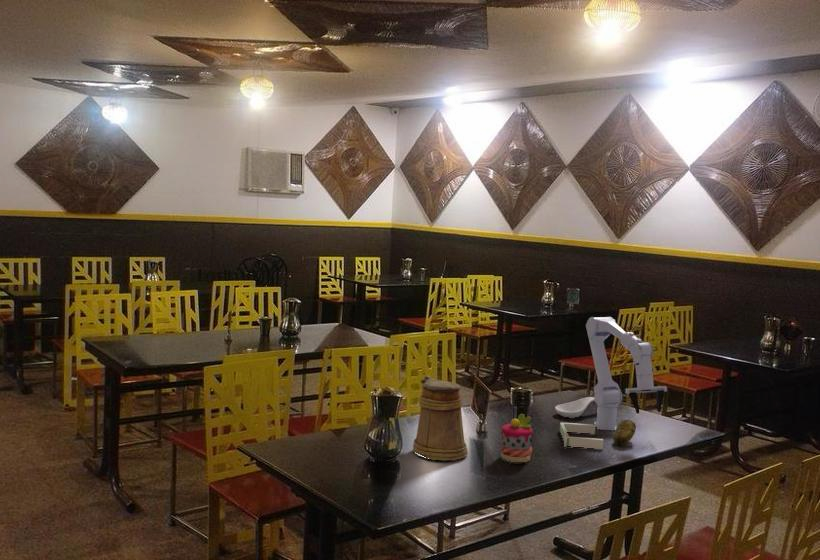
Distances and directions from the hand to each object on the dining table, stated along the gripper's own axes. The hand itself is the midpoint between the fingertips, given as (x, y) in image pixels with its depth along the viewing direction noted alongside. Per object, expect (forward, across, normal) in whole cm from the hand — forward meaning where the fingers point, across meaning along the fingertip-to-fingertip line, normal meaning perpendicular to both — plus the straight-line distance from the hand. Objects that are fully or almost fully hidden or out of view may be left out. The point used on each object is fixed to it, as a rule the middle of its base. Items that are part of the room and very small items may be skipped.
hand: (648, 412), depth 274 cm
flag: (+11, -32, -8) cm, 35 cm away
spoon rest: (+2, -20, +39) cm, 44 cm away
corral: (+9, -24, +3) cm, 26 cm away
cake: (+12, -50, -23) cm, 57 cm away
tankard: (+8, -77, -22) cm, 81 cm away
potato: (+11, -10, +4) cm, 15 cm away
